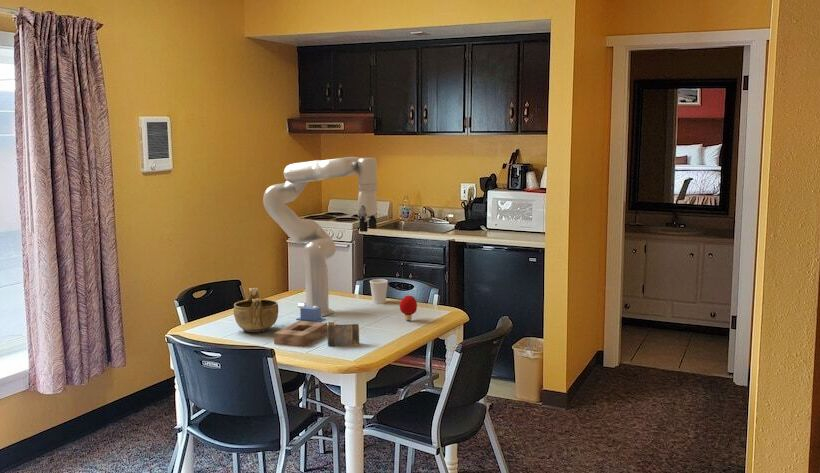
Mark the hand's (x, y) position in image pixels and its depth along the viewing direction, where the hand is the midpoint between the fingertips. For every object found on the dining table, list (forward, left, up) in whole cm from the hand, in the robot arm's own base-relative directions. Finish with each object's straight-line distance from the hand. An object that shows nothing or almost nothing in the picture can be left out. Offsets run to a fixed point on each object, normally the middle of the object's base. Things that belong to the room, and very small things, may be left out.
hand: (368, 230), depth 321 cm
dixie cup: (-7, +28, -37) cm, 47 cm away
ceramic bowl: (-34, -33, -37) cm, 60 cm away
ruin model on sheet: (+7, -41, -37) cm, 56 cm away
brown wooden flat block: (-12, -38, -37) cm, 54 cm away
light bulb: (+17, 0, -37) cm, 41 cm away
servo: (-16, -22, -37) cm, 46 cm away
